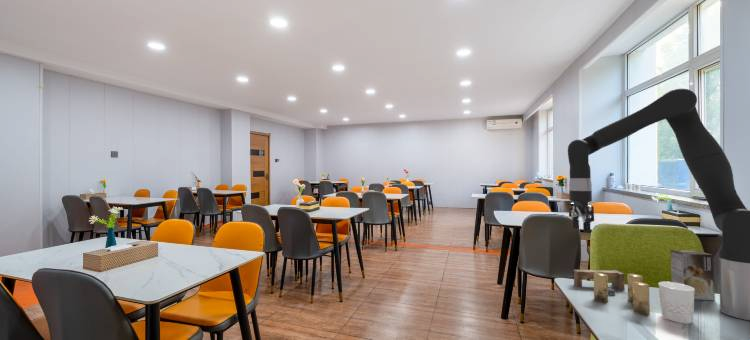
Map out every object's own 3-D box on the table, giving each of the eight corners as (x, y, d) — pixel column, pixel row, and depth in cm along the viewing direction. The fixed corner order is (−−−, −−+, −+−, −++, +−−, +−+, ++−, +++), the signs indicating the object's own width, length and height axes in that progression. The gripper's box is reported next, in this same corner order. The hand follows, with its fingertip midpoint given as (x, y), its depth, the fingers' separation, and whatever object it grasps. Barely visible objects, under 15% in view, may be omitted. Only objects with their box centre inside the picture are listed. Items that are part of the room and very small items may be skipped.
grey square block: (608, 292, 117) (608, 286, 117) (615, 296, 113) (615, 290, 113) (596, 291, 118) (596, 286, 118) (602, 295, 113) (602, 290, 114)
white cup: (703, 326, 90) (702, 291, 90) (671, 323, 91) (670, 289, 91) (682, 314, 97) (681, 282, 98) (653, 312, 99) (652, 280, 99)
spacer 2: (637, 299, 109) (637, 274, 109) (646, 304, 105) (645, 277, 105) (625, 299, 109) (624, 273, 110) (633, 303, 105) (632, 277, 106)
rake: (579, 287, 121) (578, 272, 121) (572, 283, 125) (572, 268, 126) (624, 289, 118) (624, 274, 119) (616, 285, 123) (615, 270, 124)
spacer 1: (603, 298, 110) (603, 272, 110) (610, 302, 106) (610, 276, 106) (591, 297, 111) (591, 272, 111) (598, 302, 107) (597, 276, 107)
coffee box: (700, 294, 113) (699, 250, 114) (715, 301, 107) (714, 254, 108) (671, 292, 115) (670, 249, 116) (684, 299, 109) (682, 253, 110)
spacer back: (643, 310, 100) (643, 282, 101) (653, 315, 96) (652, 286, 97) (630, 309, 101) (629, 281, 101) (639, 314, 97) (638, 285, 97)
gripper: (600, 190, 116) (601, 233, 116) (581, 188, 130) (581, 227, 130) (579, 190, 117) (580, 233, 117) (561, 188, 131) (562, 227, 131)
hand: (581, 230), depth 123 cm, fingers open, 8 cm apart
